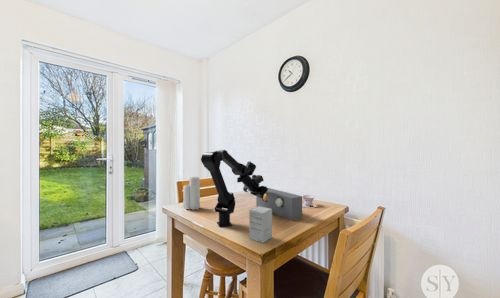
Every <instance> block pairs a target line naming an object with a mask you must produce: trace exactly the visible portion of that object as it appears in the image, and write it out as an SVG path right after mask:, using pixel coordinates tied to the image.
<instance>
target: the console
mask: <svg viewBox="0 0 500 298" xmlns="http://www.w3.org/2000/svg"><path fill="white" fill-rule="evenodd" d="M267 188H268V190H267V192H266V193H265V194H268V201H264V200H263V198H260V197H257V196H256V198H255V200H256V201H255V203H256V205H255V208H256V207H258V206H260V207H265V208H270V209H272V214H274V215H277V216H279V217H281V218H284V219H286V220H290V221H297V220H299V219H303V207H302V203H303V197H302V196H303V195H299V194H295V193H290V192H287V191H282V190H278V189H276V188H275V189H274V188H270V187H267ZM278 198H281V199H282V200H283V205H282V206H279V207H278V206H277V205H276V203H275V201H276V199H278Z"/></svg>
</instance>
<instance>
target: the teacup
mask: <svg viewBox="0 0 500 298" xmlns="http://www.w3.org/2000/svg"><path fill="white" fill-rule="evenodd" d="M301 196H302V199H303V202H302V208H307V209H315V207H310V206H312V204H315V205H317V206H316V208H318V207H319V205H318V204H317V203H313V201H314V199H315V196H314V195H310V194H304V195H301Z"/></svg>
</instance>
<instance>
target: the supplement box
mask: <svg viewBox="0 0 500 298" xmlns="http://www.w3.org/2000/svg"><path fill="white" fill-rule="evenodd" d="M248 211H249V213H248V214H249V217H248V219H249V221H248V222H249V225H248V226H249V227H248V228H249V231H248V232H249V239H250V240H251V241H256V242H258V243H261V244H264V243H265V242H267V241H269V240H270V239H272V238H273V213H272V209H270V208H265V207H260V206H258V207H256V206H255V207H254V208H251V209H249V210H248Z"/></svg>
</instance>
